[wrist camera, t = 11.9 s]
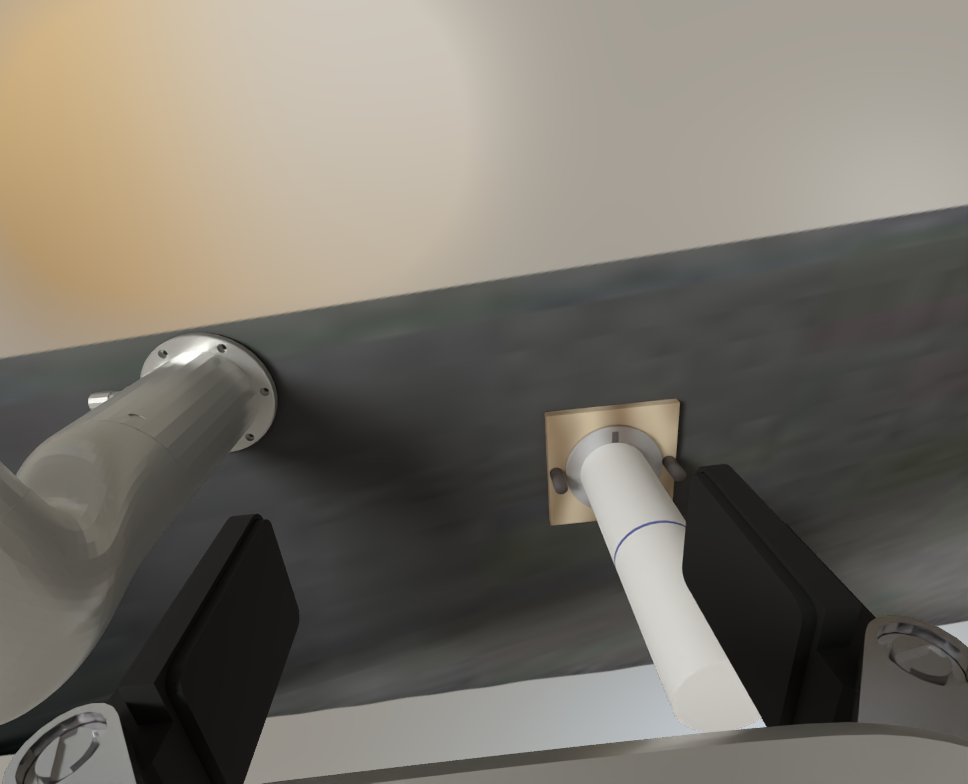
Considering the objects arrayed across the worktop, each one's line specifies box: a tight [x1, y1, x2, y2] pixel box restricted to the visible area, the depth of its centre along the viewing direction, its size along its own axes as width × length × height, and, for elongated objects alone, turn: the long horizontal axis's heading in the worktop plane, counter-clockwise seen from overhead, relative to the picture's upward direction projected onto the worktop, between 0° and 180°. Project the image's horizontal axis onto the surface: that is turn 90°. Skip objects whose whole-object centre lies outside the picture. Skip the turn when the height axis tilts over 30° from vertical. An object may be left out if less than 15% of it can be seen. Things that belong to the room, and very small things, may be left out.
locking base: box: [545, 399, 686, 526], centre depth 54 cm, size 14×14×4 cm
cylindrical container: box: [580, 443, 761, 732], centre depth 43 cm, size 7×7×25 cm
